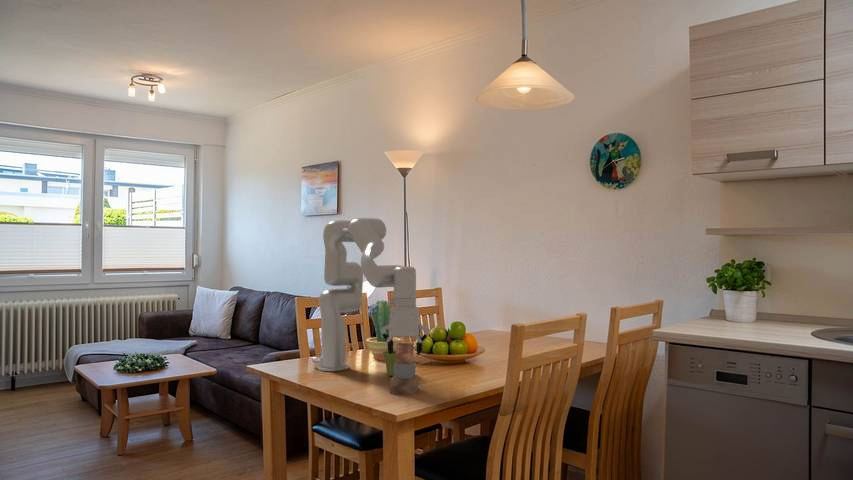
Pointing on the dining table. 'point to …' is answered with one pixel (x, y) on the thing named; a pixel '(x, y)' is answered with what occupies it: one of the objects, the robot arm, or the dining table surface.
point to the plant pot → (390, 362)
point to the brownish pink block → (404, 353)
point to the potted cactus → (380, 319)
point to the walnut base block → (404, 386)
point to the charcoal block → (404, 370)
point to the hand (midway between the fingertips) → (404, 353)
